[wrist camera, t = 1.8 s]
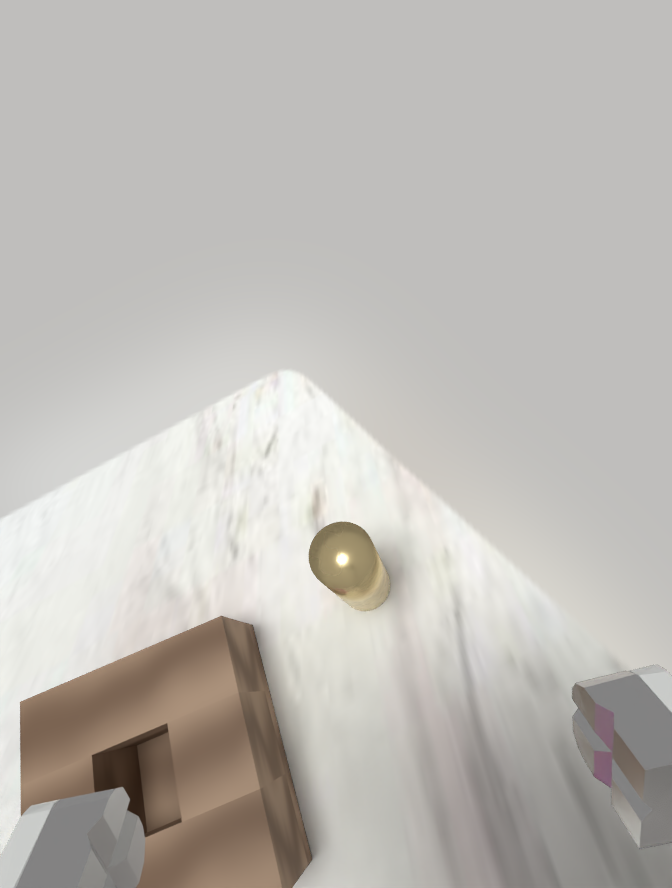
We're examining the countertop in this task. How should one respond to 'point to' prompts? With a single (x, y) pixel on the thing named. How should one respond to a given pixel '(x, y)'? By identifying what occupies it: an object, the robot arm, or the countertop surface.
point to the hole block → (177, 758)
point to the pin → (349, 565)
